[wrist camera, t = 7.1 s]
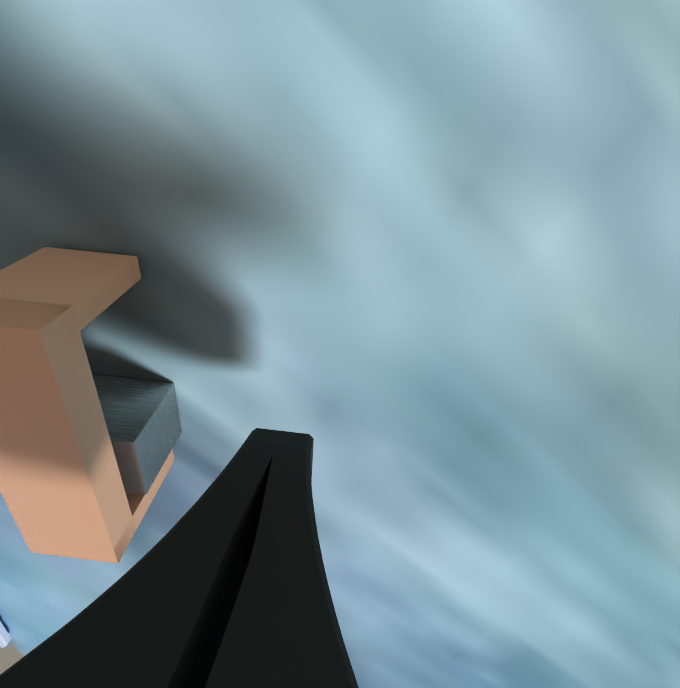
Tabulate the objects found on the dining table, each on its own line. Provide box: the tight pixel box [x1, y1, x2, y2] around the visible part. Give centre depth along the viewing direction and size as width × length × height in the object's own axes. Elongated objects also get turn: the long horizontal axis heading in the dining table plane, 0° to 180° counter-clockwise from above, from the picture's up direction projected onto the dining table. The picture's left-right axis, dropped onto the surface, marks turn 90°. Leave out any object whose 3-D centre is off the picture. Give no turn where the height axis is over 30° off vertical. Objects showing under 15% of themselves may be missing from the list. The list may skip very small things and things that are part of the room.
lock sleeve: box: [0, 247, 174, 563], centre depth 12 cm, size 7×2×4 cm, turn 176°
